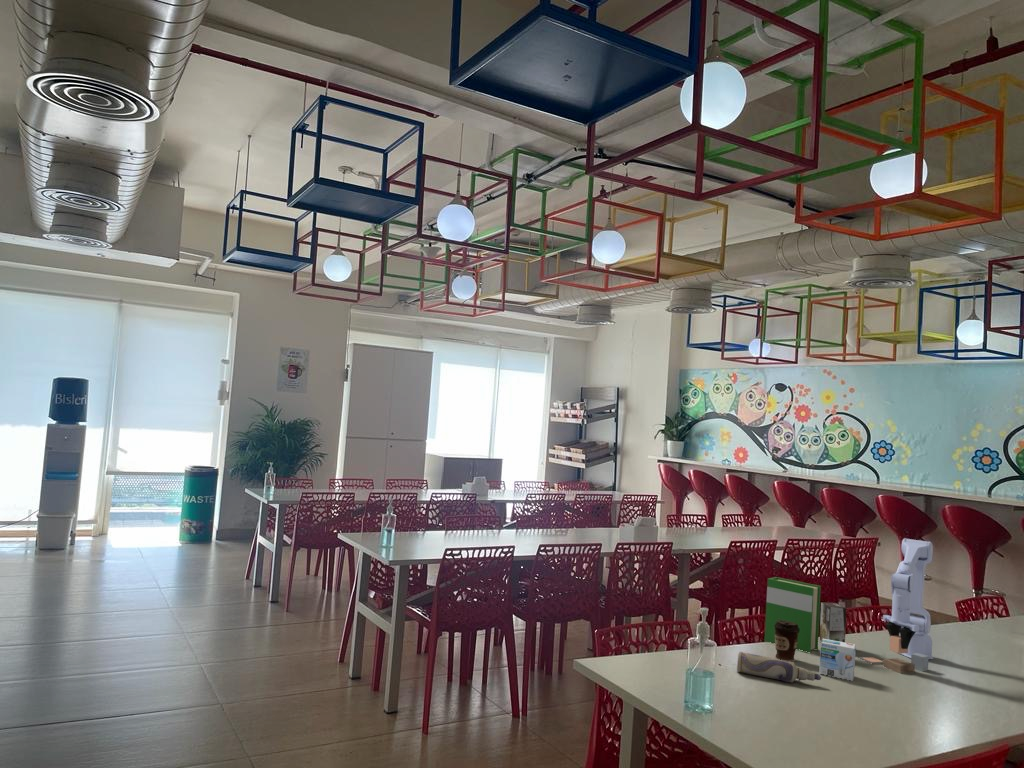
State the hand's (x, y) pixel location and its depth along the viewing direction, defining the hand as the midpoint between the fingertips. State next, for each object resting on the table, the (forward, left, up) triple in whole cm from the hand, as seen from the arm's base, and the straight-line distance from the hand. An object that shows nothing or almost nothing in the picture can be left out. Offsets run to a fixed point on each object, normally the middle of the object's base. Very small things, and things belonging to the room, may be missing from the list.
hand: (899, 646), depth 258 cm
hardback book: (+24, -28, -8) cm, 38 cm away
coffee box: (+7, -26, -8) cm, 28 cm away
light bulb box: (+30, +5, -8) cm, 32 cm away
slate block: (-9, 0, -8) cm, 12 cm away
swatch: (+3, -9, -8) cm, 12 cm away
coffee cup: (+38, -12, -8) cm, 41 cm away
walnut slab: (0, 0, -8) cm, 8 cm away
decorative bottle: (+56, +8, -8) cm, 57 cm away
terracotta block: (0, 0, -2) cm, 2 cm away
